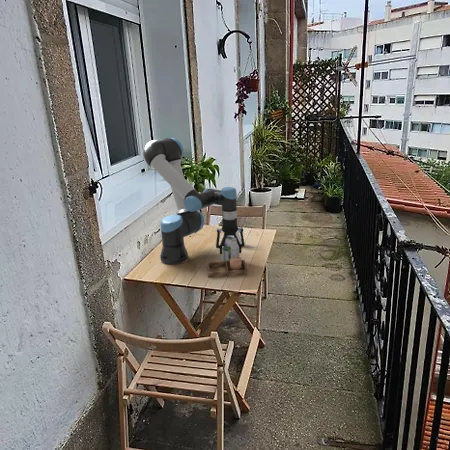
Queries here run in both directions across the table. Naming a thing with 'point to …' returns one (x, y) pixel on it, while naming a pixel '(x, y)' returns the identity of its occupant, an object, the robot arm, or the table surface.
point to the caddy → (225, 269)
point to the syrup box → (230, 248)
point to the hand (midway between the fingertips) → (230, 259)
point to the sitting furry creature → (238, 236)
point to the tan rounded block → (235, 263)
